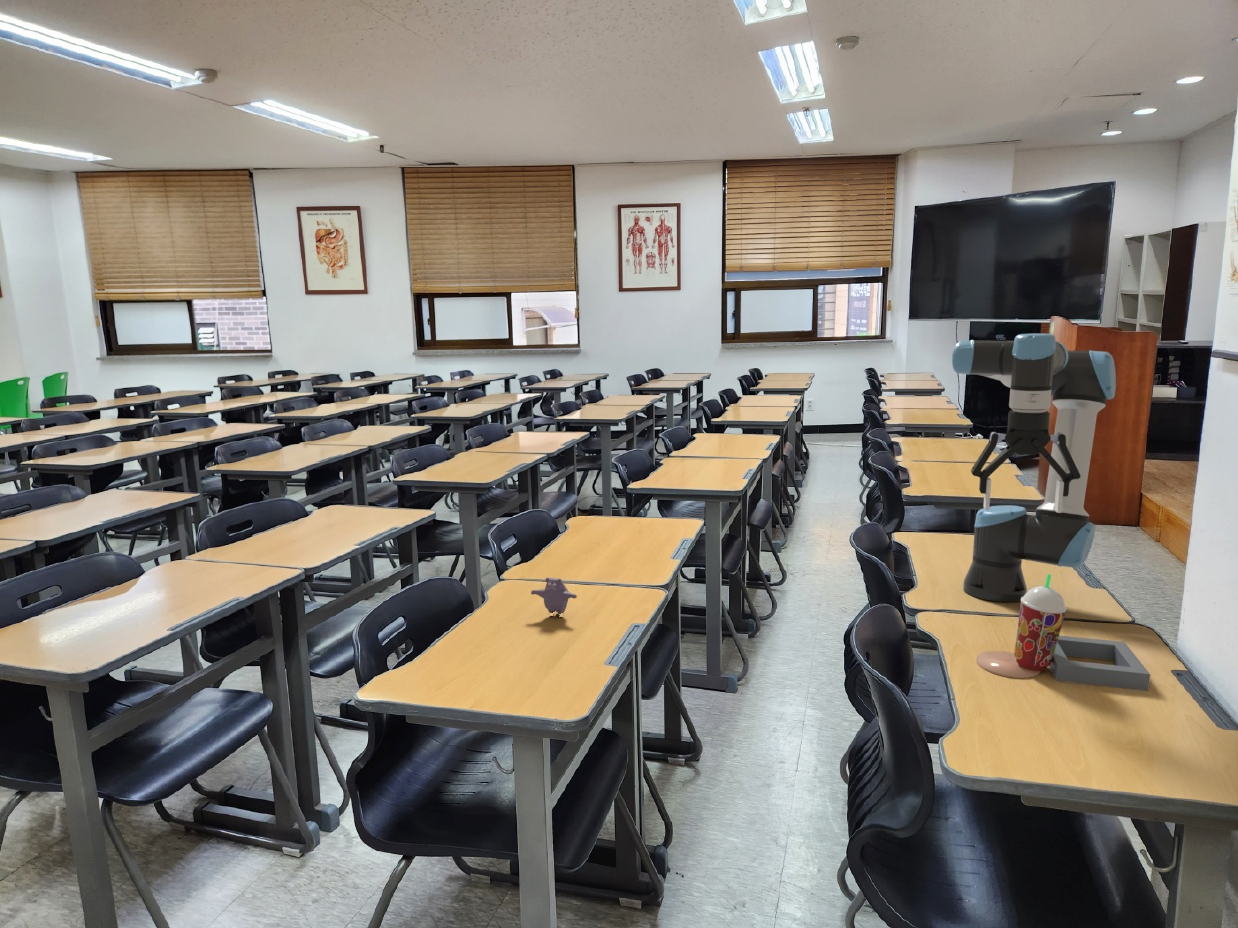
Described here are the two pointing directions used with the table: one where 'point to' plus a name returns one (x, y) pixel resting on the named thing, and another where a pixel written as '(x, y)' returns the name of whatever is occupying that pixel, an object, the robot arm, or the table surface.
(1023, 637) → the smoothie
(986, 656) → the pink flat disc
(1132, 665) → the holder
